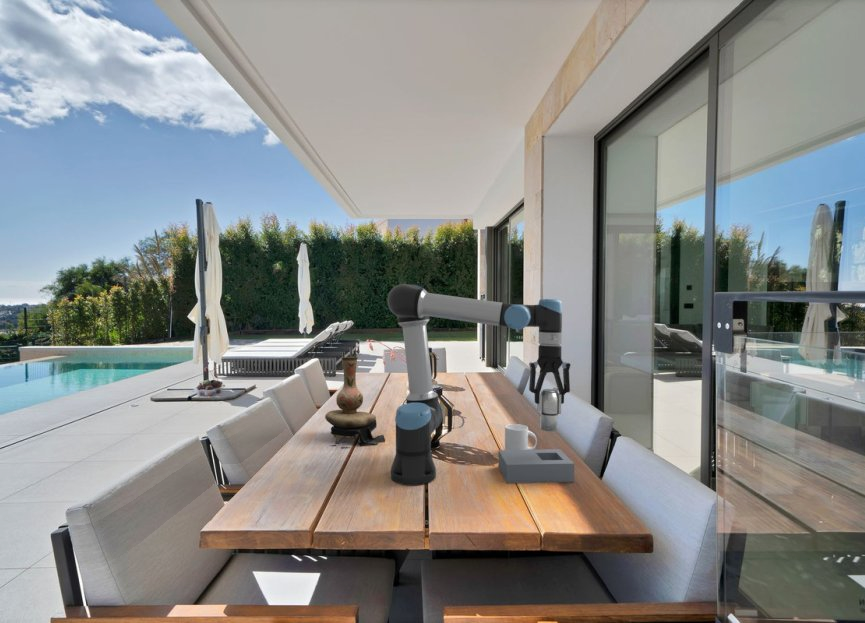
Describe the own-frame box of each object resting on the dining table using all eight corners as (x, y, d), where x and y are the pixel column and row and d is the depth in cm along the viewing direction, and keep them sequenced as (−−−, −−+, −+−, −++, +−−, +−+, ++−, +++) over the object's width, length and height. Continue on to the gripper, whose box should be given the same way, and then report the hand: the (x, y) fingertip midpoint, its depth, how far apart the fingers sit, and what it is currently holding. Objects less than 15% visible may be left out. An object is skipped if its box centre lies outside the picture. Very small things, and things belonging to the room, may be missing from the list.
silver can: (542, 431, 146) (543, 392, 146) (537, 426, 152) (538, 388, 152) (560, 431, 147) (560, 392, 146) (554, 426, 153) (555, 388, 152)
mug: (538, 459, 164) (538, 430, 163) (505, 458, 165) (505, 429, 165) (535, 451, 172) (535, 424, 172) (504, 450, 173) (504, 423, 173)
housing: (506, 483, 142) (506, 464, 142) (498, 467, 156) (498, 450, 156) (574, 481, 143) (574, 463, 143) (559, 466, 157) (559, 449, 157)
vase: (376, 429, 203) (376, 353, 202) (387, 444, 182) (386, 359, 181) (323, 434, 195) (323, 355, 195) (328, 450, 174) (328, 361, 173)
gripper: (525, 345, 145) (524, 416, 145) (581, 346, 146) (580, 415, 146) (519, 343, 152) (518, 410, 153) (573, 343, 153) (572, 410, 154)
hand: (549, 413), depth 149 cm, fingers closed on silver can, 6 cm apart
